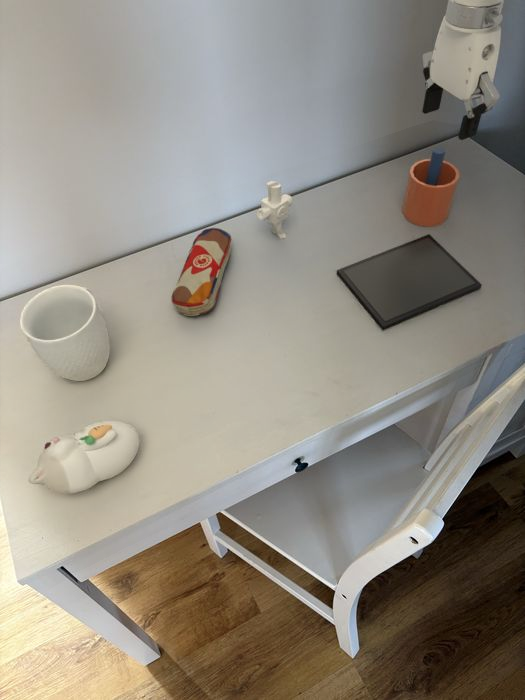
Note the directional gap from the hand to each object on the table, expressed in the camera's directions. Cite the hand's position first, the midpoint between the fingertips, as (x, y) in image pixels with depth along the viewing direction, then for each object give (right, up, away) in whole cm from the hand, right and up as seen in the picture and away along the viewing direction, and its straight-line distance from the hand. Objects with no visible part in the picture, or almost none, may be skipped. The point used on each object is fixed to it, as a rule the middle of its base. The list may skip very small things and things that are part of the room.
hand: (448, 123), depth 91 cm
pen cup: (+1, -11, +15) cm, 19 cm away
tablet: (-6, -26, +4) cm, 27 cm away
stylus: (+1, -11, +15) cm, 18 cm away
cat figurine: (-55, -55, -14) cm, 80 cm away
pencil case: (-42, -26, +7) cm, 49 cm away
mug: (-60, -40, -3) cm, 72 cm away
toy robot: (-29, -16, +13) cm, 36 cm away
